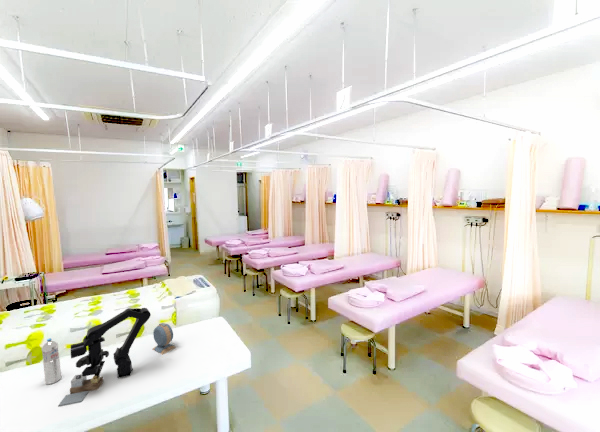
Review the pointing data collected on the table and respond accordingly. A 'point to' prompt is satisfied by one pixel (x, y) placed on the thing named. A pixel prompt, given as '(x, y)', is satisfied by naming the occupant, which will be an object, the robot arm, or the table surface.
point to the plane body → (87, 386)
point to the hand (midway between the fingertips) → (97, 377)
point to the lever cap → (78, 381)
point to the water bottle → (51, 362)
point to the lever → (95, 379)
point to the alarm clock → (163, 338)
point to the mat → (73, 398)
